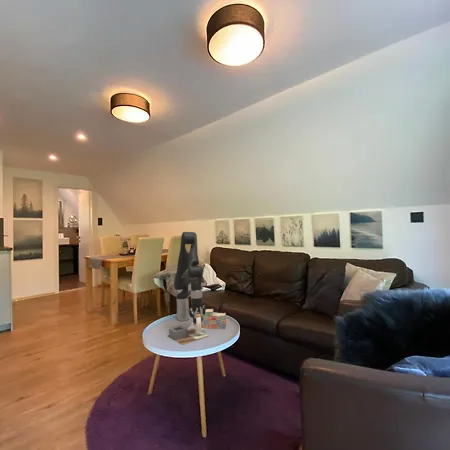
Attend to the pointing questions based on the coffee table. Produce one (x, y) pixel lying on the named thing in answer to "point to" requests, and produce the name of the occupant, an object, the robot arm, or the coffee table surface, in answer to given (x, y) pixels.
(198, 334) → the base board
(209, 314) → the stack of blocks
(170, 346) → the coffee table surface
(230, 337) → the coffee table surface
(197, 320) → the plug
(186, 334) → the grey square frame
